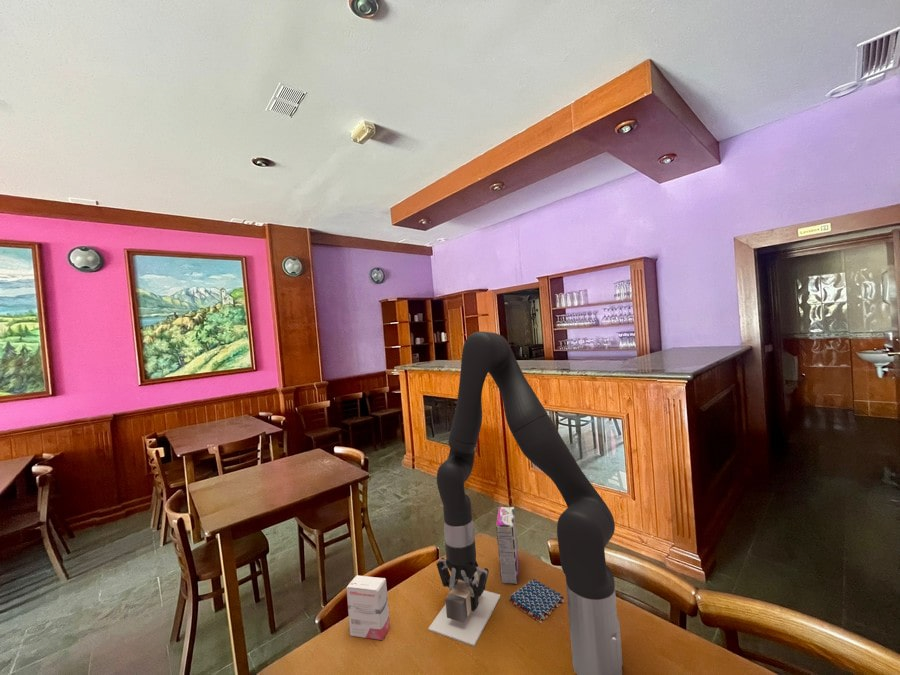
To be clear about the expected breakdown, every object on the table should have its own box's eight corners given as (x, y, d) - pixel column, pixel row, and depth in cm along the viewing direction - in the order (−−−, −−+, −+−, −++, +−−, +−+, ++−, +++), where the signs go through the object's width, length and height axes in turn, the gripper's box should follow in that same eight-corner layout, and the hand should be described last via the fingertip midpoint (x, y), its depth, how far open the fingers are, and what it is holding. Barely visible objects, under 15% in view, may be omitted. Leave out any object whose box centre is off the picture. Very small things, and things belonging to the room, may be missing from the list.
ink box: (391, 625, 89) (387, 577, 89) (382, 641, 85) (378, 590, 85) (359, 620, 92) (356, 573, 92) (349, 636, 87) (345, 586, 87)
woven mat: (507, 603, 94) (506, 595, 94) (533, 584, 101) (532, 576, 101) (540, 626, 86) (539, 618, 86) (566, 603, 93) (565, 595, 93)
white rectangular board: (500, 596, 96) (500, 594, 96) (474, 646, 81) (474, 644, 81) (460, 585, 102) (460, 583, 102) (428, 630, 87) (428, 628, 87)
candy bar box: (502, 559, 112) (498, 506, 112) (519, 560, 111) (514, 506, 111) (500, 584, 101) (495, 524, 101) (518, 585, 100) (513, 525, 100)
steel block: (482, 572, 96) (462, 603, 85) (483, 589, 96) (463, 623, 85) (466, 568, 98) (445, 598, 87) (468, 585, 98) (446, 617, 87)
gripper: (491, 535, 91) (497, 603, 91) (442, 525, 98) (447, 589, 98) (479, 551, 85) (485, 625, 84) (427, 540, 91) (432, 608, 91)
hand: (464, 605), depth 91 cm, fingers closed on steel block, 4 cm apart
